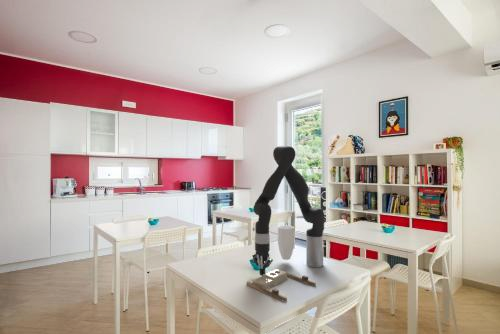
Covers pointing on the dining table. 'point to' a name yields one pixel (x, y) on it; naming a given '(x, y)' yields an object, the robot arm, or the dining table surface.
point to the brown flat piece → (276, 292)
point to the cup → (286, 241)
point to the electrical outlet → (271, 278)
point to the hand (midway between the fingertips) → (262, 275)
